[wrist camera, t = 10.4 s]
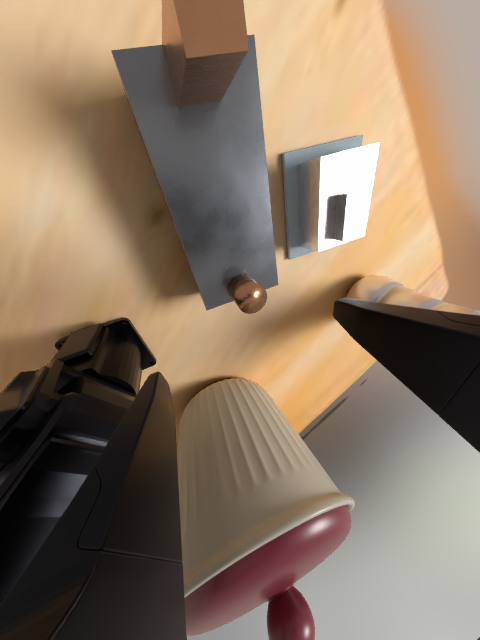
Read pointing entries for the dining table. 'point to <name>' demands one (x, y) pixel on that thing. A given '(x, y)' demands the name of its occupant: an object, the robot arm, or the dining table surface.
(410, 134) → the dining table surface
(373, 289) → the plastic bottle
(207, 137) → the body
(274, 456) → the canister
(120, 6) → the dining table surface
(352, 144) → the rubber pad
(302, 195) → the lever cap
